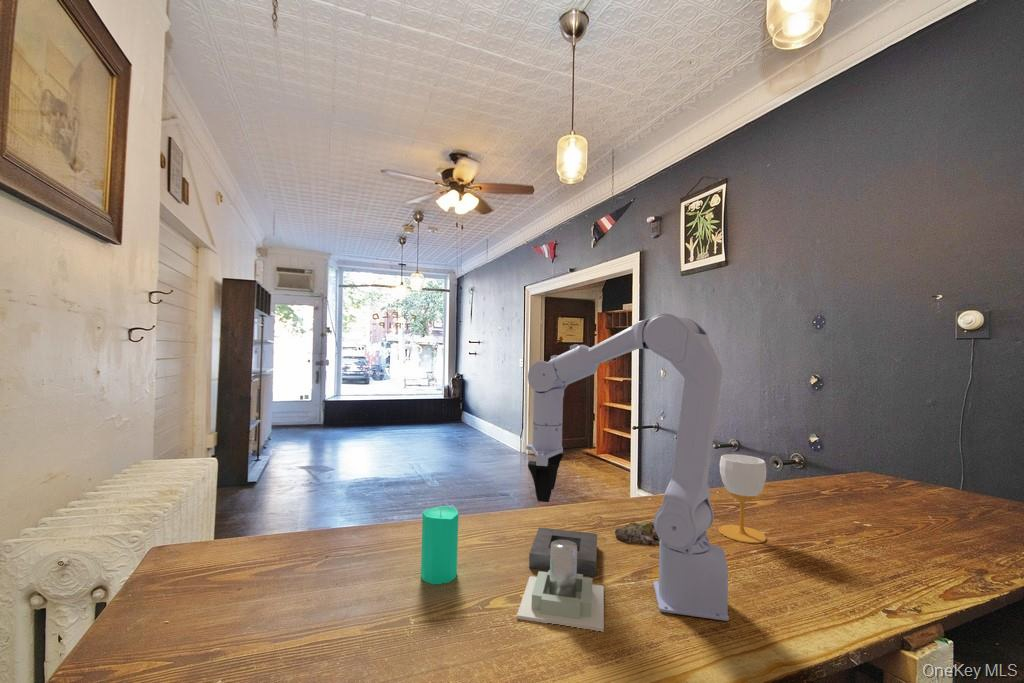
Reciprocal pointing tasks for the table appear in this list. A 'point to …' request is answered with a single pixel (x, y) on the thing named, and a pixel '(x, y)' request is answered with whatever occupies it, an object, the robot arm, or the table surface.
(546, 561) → the socket block
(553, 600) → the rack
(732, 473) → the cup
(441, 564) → the candle
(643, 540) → the mineral rock
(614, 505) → the table surface
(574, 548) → the smooth metal cylinder
